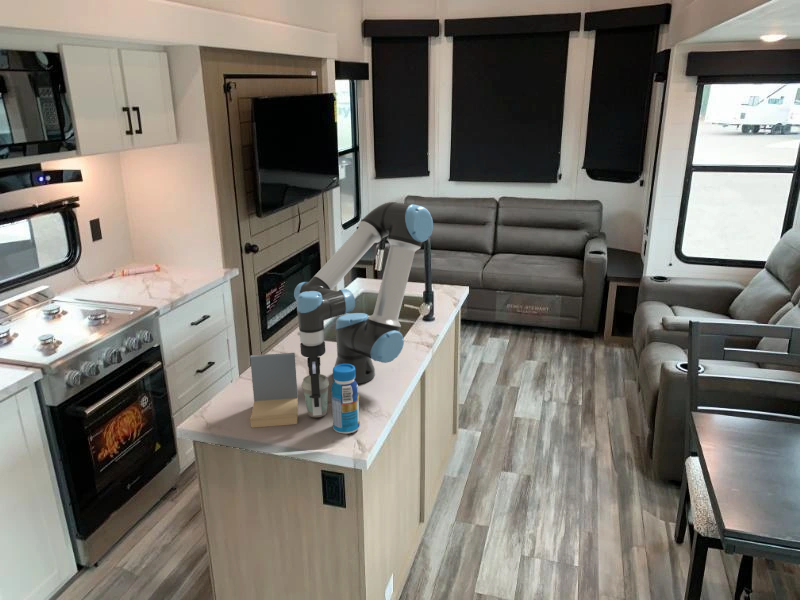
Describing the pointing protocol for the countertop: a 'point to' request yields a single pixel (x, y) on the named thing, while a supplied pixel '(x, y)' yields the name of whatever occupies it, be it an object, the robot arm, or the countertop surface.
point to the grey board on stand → (274, 390)
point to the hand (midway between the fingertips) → (317, 408)
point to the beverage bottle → (345, 399)
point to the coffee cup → (323, 393)
